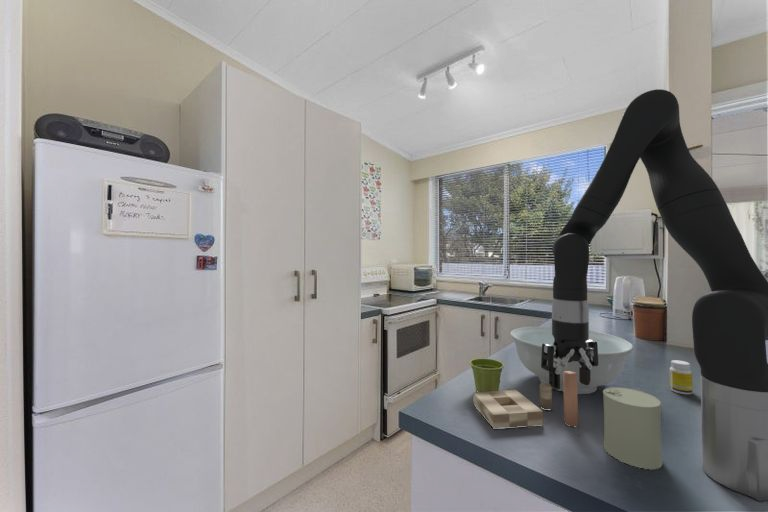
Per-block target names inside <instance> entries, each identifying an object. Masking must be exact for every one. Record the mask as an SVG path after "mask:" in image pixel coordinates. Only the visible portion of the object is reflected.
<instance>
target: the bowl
mask: <svg viewBox="0 0 768 512" xmlns="http://www.w3.org/2000/svg"><path fill="white" fill-rule="evenodd" d="M509 335H510V338H511V339H513V340H514V343H515V349H516V354H517V356H518V358H519V361H520V363H521V364H522V365H523V366H524V367H525V368H526V369H527V370H528V371H529V372H531V373H532V374H534V375H535V376H538V379H539V380H538V381H539V382H540V383H547V384H549V371H547V370H545V369H543V368H541V357H542V344H543V343H545V344H548V345H553V343H554V337H553V335H552V326H525V327H518V328H515V329H512V330H511V331H510V334H509ZM589 340H592V341H595V342H597V345H598V366H593V367H592V369H591V370H590V384H589V385H584V384H582V383H580V381H579V367H581V366H580V364H579V363H578V361H572V362H567V364H566V366H564V367H562V369H561V371H560V372H559V374H560V389H557V390H556V389H555V391H558V392H561V391H562V393H564V383H563V372H564V371H572V372H575V373H577V395H587V394H593V393H595V392H596V391H597V389H598V387H600V386H605V385H608V384H609V383H612V382H614V381H615V380H616V379H618V378H619V377H620V375H621V374H622V372H623V371H624V368H625V365H626V361H627V357H628V355H630V354H631V353H632V352H633V350H634V346H633V344H632V343H631V342H629V341H628V340H626V339H624V338H623V337H622V338H621V337H619V336H615V335H612V334H608V333H604V332H599V331H595V330H589ZM554 352H555V351H554ZM557 359H558V360H561V359H560V358H559V357H558V358H557ZM591 359H592V356H591ZM592 360H593V359H592ZM547 365H548V361H547ZM556 366H557V364H556V365H555V367H556ZM552 390H554V388H552Z"/></svg>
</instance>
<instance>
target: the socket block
mask: <svg viewBox="0 0 768 512" xmlns="http://www.w3.org/2000/svg"><path fill="white" fill-rule="evenodd" d="M472 401H473V402H472V404H473V403H474V404H475V405H476V407H477V408H478V409H479V410H480V412H481V413H482V414H483V415H484V416H485V418H486V419H487V420H488V421H489V423H490V424H491V425H492V427H493V428H499V427H517V426H534V425H543V426H544V412H543V411H544V410H542V409H541V408H540V407H538V406H537V405H536V404H534V403H533V402H532V401H530V399H528V398H527V397H526V396H525V395H523V394H522V393H521V392H519V391H518V390H516V389H510V390H499V391H490V392H476V391H475V392H472Z"/></svg>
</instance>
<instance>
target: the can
mask: <svg viewBox="0 0 768 512" xmlns="http://www.w3.org/2000/svg"><path fill="white" fill-rule="evenodd" d="M602 395H603V423H604V425H603V429H604V431H603V432H604V433H603V434H604V435H603V436H604V437H603V438H604V440H603V448H604V451H605V452H606V453H607V452H608V453H607V455H609V454H610V455H611V456H613V457H614V458H616V459H619V460H620V461H623V462H625V463H628V464H630V465H633V466H637V467H640V468H644V469H643V470H647V469H649V470H653V471H654V470H659V469H660V468H661V467H662V466H663V463H664V461H663V458H662V457H663V456H662V429H661V428H662V427H661V426H662V424H661V422H662V421H661V420H662V419H661V418H662V417H661V410H662V409H661V406H662V402H661V400H660V399H658V397H656V396H653V395H652V394H649V393H648V392H647V393H646V392H644V391H641V390H637V389H633V388H629V387H628V388H627V387H622V386H621V387H619V386H613V387H612V386H610V387H606V388H604V389H603V390H602ZM610 455H609V456H610ZM611 456H610V457H611ZM613 457H612V458H613ZM614 458H613V459H614ZM616 459H615V460H616ZM620 461H619V462H620ZM640 468H639V469H640Z"/></svg>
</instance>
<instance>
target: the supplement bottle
mask: <svg viewBox="0 0 768 512" xmlns="http://www.w3.org/2000/svg"><path fill="white" fill-rule="evenodd" d="M669 389H670V391H672V392H674V393H675V394H676V393H677V394H680V395H692V394H693V372H692V370H691V363H689V362H687V361H684V360H677V359H674V360H673V359H672V360H671V361H670V367H669Z"/></svg>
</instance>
